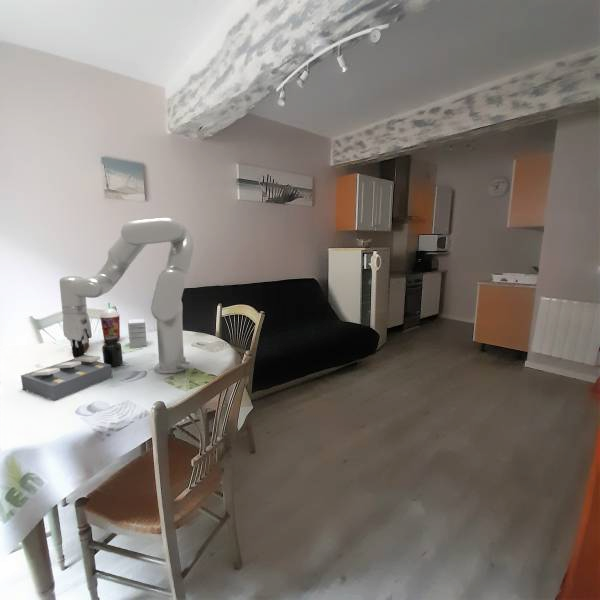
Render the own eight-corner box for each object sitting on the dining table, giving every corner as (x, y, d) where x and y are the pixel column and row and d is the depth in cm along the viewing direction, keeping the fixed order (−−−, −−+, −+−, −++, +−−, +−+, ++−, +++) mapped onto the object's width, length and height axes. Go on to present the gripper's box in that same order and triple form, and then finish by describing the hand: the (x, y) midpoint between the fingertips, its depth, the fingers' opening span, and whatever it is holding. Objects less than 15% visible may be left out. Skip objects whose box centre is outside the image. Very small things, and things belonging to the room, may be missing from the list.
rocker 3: (100, 359, 121) (99, 356, 121) (91, 362, 118) (90, 359, 118) (83, 357, 125) (83, 354, 125) (74, 360, 122) (73, 357, 122)
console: (112, 377, 122) (110, 363, 121) (54, 400, 104) (52, 384, 103) (81, 368, 129) (80, 355, 128) (22, 389, 111) (20, 373, 110)
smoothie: (119, 338, 168) (116, 300, 164) (123, 342, 162) (120, 303, 158) (101, 340, 163) (97, 302, 159) (104, 345, 156) (100, 305, 153)
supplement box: (129, 344, 159) (127, 319, 157) (146, 342, 163) (144, 318, 160) (129, 348, 153) (127, 323, 150) (147, 346, 156) (145, 321, 154)
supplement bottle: (117, 361, 138) (114, 334, 136) (126, 364, 134) (124, 337, 132) (100, 366, 132) (97, 338, 130) (109, 370, 129) (107, 341, 126)
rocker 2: (81, 363, 115) (80, 360, 115) (70, 367, 112) (69, 364, 111) (65, 364, 119) (64, 361, 119) (54, 368, 116) (53, 365, 116)
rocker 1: (60, 370, 108) (59, 367, 108) (48, 374, 105) (47, 371, 105) (43, 371, 113) (42, 368, 113) (32, 375, 109) (31, 372, 109)
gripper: (97, 310, 120) (101, 356, 124) (72, 305, 126) (76, 349, 130) (77, 314, 113) (81, 363, 117) (51, 308, 119) (56, 355, 123)
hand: (78, 356), depth 123 cm, fingers closed
